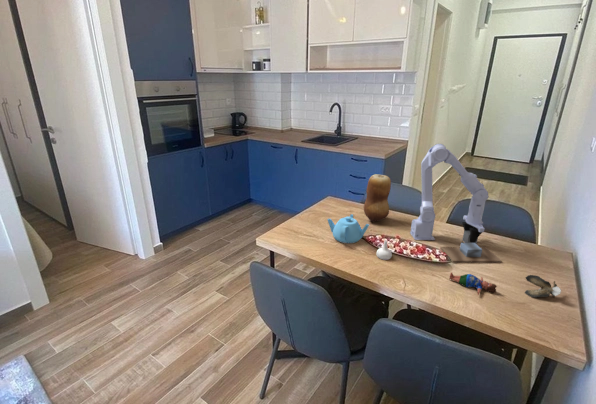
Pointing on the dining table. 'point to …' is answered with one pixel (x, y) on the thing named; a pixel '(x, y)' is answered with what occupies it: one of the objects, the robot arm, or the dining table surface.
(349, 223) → the teapot
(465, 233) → the gray brick
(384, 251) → the garlic bulb
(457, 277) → the toy character
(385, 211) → the butternut squash
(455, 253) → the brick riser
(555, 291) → the eagle figurine
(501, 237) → the dining table surface
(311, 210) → the dining table surface
